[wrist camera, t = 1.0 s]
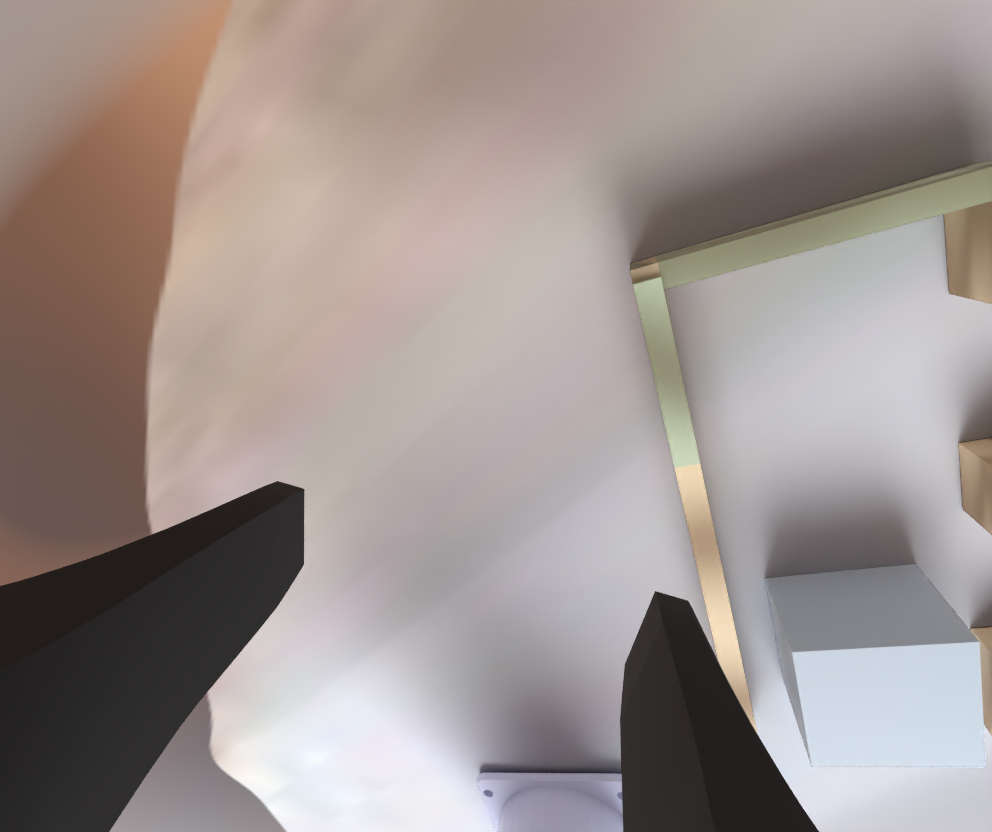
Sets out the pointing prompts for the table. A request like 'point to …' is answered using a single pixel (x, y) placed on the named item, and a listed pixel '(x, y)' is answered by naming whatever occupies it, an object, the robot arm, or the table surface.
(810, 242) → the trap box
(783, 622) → the block
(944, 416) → the table surface
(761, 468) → the table surface
